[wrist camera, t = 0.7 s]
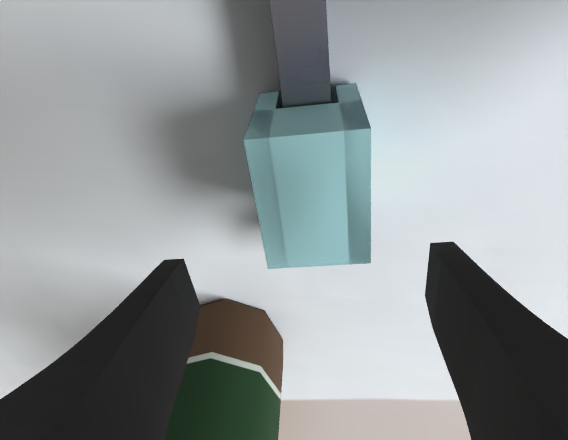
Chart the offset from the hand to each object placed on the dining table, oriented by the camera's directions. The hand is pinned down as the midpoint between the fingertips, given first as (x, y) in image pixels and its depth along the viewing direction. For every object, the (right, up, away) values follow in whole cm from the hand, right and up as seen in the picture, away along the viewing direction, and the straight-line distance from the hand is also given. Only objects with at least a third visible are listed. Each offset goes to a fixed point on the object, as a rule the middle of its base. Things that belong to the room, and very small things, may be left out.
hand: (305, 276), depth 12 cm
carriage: (+1, +5, +8) cm, 10 cm away
